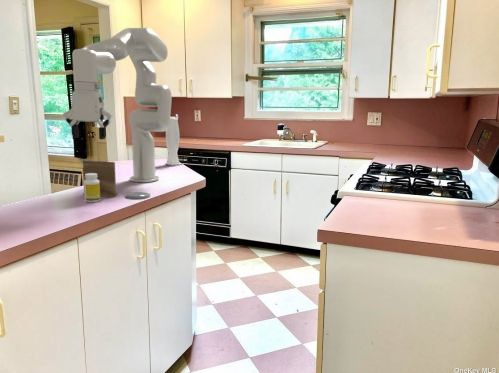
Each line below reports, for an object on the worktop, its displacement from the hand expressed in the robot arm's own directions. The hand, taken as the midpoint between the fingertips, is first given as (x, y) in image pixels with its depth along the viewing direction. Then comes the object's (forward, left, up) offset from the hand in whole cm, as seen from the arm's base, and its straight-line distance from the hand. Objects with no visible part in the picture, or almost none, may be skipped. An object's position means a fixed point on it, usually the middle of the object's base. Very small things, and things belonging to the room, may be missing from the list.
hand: (89, 138), depth 142 cm
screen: (-8, -1, -22) cm, 24 cm away
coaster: (-10, +13, -22) cm, 28 cm away
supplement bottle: (0, 0, -23) cm, 23 cm away
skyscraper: (-85, +4, -23) cm, 88 cm away
